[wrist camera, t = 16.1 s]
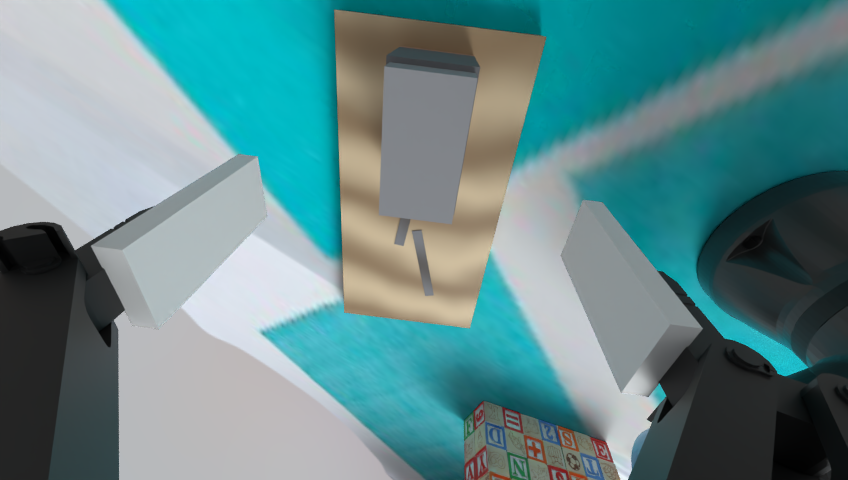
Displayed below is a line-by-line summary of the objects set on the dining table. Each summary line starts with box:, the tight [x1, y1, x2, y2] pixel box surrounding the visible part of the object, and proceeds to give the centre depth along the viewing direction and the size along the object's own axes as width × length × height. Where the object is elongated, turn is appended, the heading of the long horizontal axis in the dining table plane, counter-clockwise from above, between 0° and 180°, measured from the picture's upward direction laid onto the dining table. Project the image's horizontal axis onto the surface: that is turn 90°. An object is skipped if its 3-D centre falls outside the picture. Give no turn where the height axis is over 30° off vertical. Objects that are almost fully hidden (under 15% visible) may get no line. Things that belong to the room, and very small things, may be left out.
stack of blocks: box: [464, 401, 620, 480], centre depth 46 cm, size 21×6×12 cm, turn 66°
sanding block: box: [379, 46, 480, 224], centre depth 22 cm, size 9×5×8 cm, turn 174°
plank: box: [334, 10, 546, 328], centre depth 31 cm, size 28×14×2 cm, turn 174°
